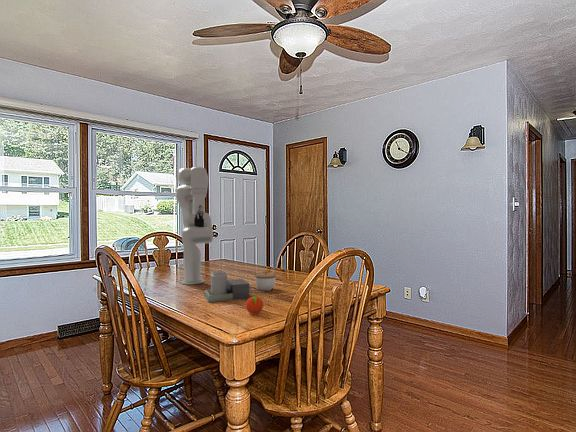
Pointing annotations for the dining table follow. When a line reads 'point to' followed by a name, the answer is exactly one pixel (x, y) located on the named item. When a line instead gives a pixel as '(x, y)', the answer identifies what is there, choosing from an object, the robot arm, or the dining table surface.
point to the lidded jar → (265, 281)
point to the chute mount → (230, 291)
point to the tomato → (254, 305)
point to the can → (218, 283)
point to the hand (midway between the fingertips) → (199, 226)
